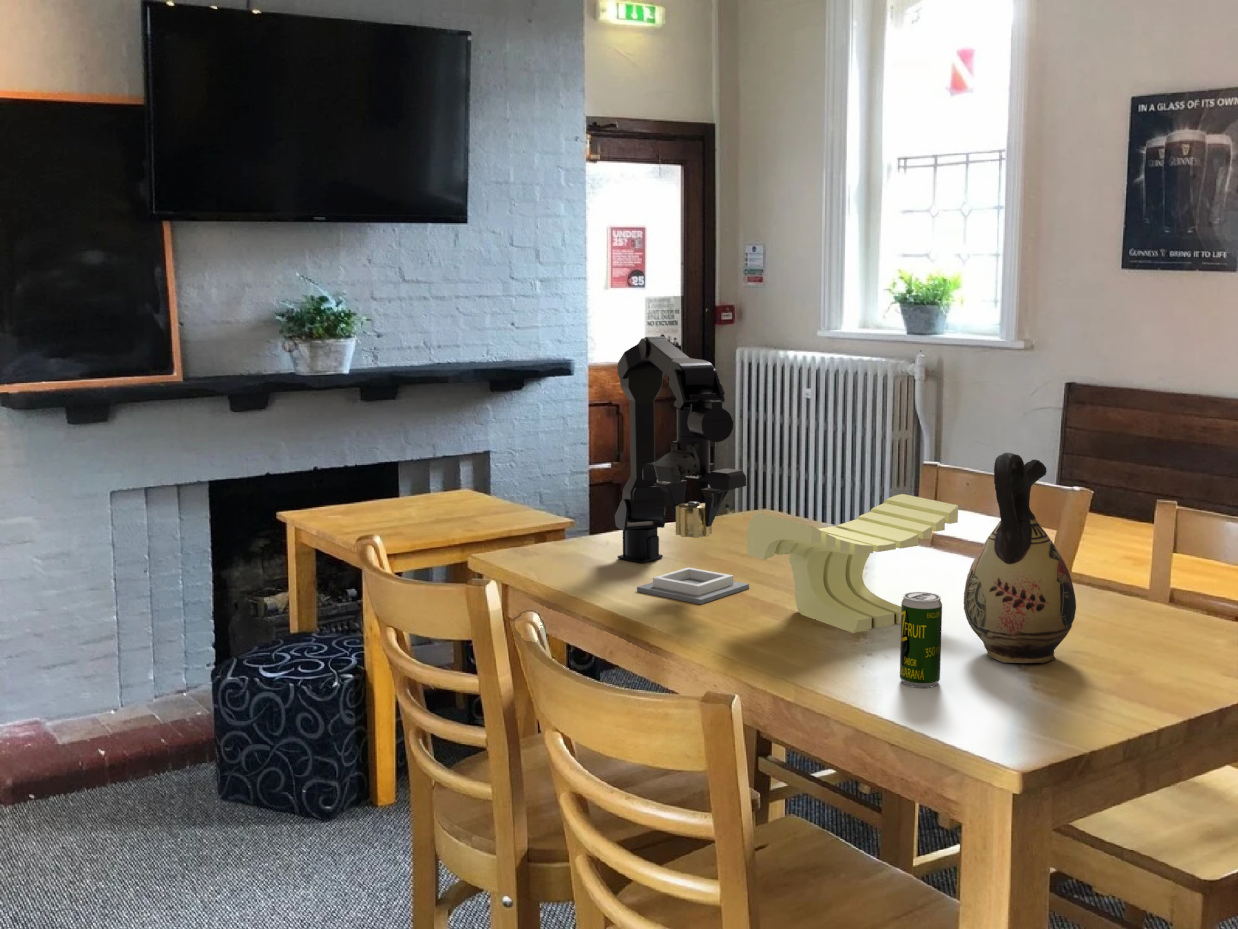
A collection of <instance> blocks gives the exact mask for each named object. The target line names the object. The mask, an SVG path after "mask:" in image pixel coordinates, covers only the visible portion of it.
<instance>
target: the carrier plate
mask: <svg viewBox="0 0 1238 929" xmlns="http://www.w3.org/2000/svg"><path fill="white" fill-rule="evenodd" d="M749 589H750V584H749V583H745V582H740V581H734V575H733V574H727V573H722V572H721V573H720V572H715V571H711V570H705V569H699V568H695V567H689V566H688V567H685V568H681V569H677V570H675V571H671V572H668V573H667V572H666V573H665V574H661V575H657V576H654V577H653V578H652V582H649V583H646V584H645V583H644V584H641V585H639V586H636V592H637V593H638V592H639V593H642V594H649V595H653V596H658V597H663V598H668V599H673V600H676V601H682V602H687V603H693V604H697V605H703V604H706V603H709V602H712V601H715V600H719V599H721V598H724V597H728V596H730V595H731V596H732V595H734V594H737V593H740V592H743V591H746V590H749Z"/></svg>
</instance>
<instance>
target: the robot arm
mask: <svg viewBox="0 0 1238 929" xmlns="http://www.w3.org/2000/svg"><path fill="white" fill-rule="evenodd" d="M665 375H666V376H667V377H668V387H669V388H670V390H671V392H672V393H673V395H674V397H675V399H676V400H674V403H673V406H674V407H676V440H675V441H673V440H672V441H671V445H670V451H669V452H668V453H665V454H664V455H663V456H662V457H660V458H659V459H657V460H656V435H655V434H656V433H655V432H656V430H655V429H656V428H655V426H656V424H655V421H656V420H655V400H656V398H657V396H658V395H659V393H660V391H661V389H662V388H663V384H664V382H663V379H664V376H665ZM617 376H618V378H619V382H620V384H619V385H620V388H621V389H622V391H623V392H624V394H625V397H626V398H627V399H628V401H629V402H628V403H629V404H628V405H629V406H628V407H629V408H628V409H629V449H630V450H629V454H630V455H629V456H630V458H629V459H630V476H629V478H628V480H627V481H626V483H625V485H624V487H623V488H622V495H621V497H622V498H621V500H620V503H619V504H618V507H617V510H616V512H615V514H614V522H615V528H617V529H619V530H622V554H620V555H617V559H619V560H625V561H630V562H635V563H639V564H641V563H642V564H644V563H647V562H651V561H655V560H659V559H662V558H664V556H663V554H660V537H659V535H658V528H662V529H663V528H665V525H666V519H667V514H668V512H667V511H668V504H669V506H670V509H671V511H672V515H673V517H674V519H675V521H676V506H678V504H685V499H686V488H687V481H693V482H695V481H697V482H702V483H703V482H704V483H707V487H705V488H701V489H700V492H701V493H702V495H703V496H704V503H705V523H706V527H710V526H711V525H712V526H713V522H714V521H715V518H716V517H717V516H716V515H717V514H718V513H719V512H718V511H719V510H720V507H721V505H722V503H723V502H724V500H725V498H726V496H727V495H728V493H729V491H733V490H735V489H739V488H745V487H747V476H746V474H745V472H744V470H743V469H734V468H728V467H726V468H722V469H721V468H720V469H716V470H715V463H711V447H715V446H716V444H715V443H721V442H723V441H725V440H727V439H728V438H729V437H730V435H731V434H732V431H733V429H734V420H733V418H732V415H731V414H730V413H729V412H728V410H727V409H724V408H723V403H725V402H726V401H725V393H726V391H725V390H724V387H723V386H722V383H721V380H720V378H719V376H718V372H717V370H716V368H715V367H714V365H713V364H712V363H711V362H710V361H707V360H705V359H698V358H691V357H689V356H688V355H687V354H686V353H684V352H683V351H682V350H681V349H679V348H678V347H676V346H675V345H674V344H672V342H671V340H670V338H668V337H666V336H645V337H644V338H641V339H640V340H639V342H638V343H637V344H636V345H634V346H632V347H630V348H628V349H627V350H625V351H624V352H623V353H622V355H621V357H620V358H619V360H618V362H617ZM666 498H667V499H666ZM667 500H668V503H667Z"/></svg>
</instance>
